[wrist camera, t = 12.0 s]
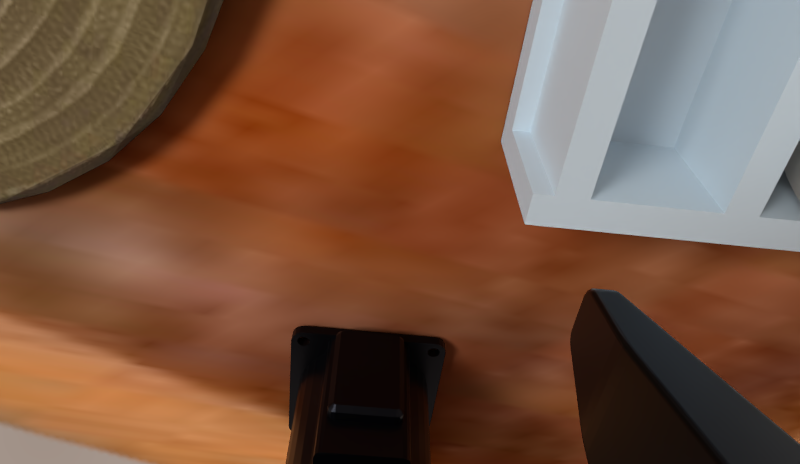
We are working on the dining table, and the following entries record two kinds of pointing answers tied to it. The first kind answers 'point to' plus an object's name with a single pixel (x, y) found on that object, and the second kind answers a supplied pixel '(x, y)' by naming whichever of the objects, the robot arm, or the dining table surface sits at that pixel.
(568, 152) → the rack
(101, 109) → the decorative disc
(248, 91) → the dining table surface
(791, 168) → the plate
